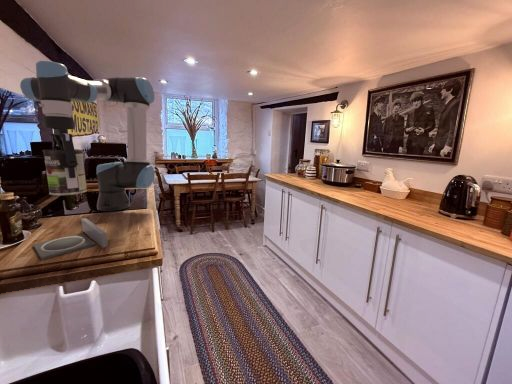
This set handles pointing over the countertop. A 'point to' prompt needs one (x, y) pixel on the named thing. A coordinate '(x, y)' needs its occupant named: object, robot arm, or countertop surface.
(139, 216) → the countertop surface
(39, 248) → the mat
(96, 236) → the low wall
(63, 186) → the coffee can
